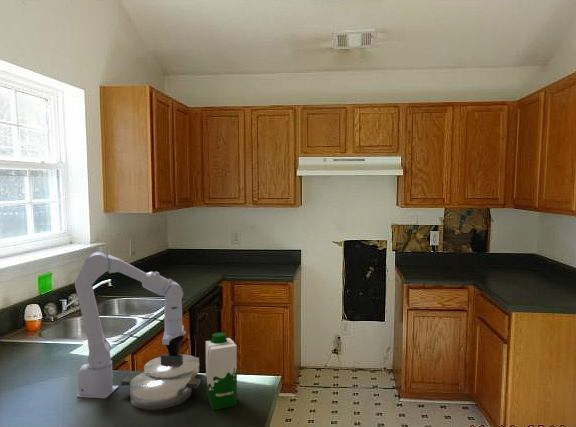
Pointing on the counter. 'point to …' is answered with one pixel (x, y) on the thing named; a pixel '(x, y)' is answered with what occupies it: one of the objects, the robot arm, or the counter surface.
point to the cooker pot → (160, 390)
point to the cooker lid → (171, 366)
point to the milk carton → (221, 371)
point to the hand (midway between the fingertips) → (174, 358)
